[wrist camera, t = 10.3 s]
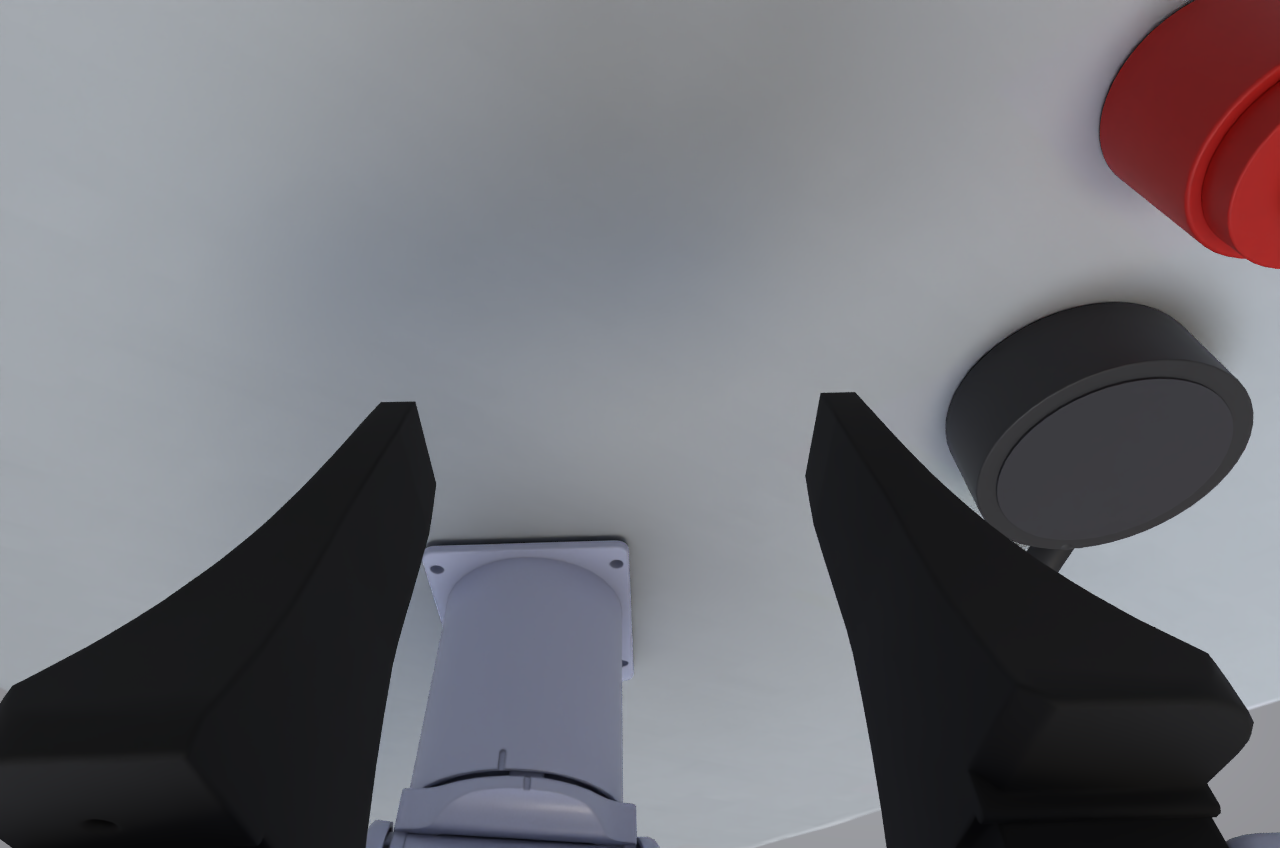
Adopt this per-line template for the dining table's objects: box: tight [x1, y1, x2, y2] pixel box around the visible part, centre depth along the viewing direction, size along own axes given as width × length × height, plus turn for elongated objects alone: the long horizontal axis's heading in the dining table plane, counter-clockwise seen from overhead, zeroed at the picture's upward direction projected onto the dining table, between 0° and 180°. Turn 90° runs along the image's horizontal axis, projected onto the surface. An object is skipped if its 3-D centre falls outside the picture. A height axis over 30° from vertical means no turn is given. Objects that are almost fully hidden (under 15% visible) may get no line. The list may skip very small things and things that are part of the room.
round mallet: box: [946, 303, 1253, 572], centre depth 30 cm, size 26×8×3 cm, turn 1°
